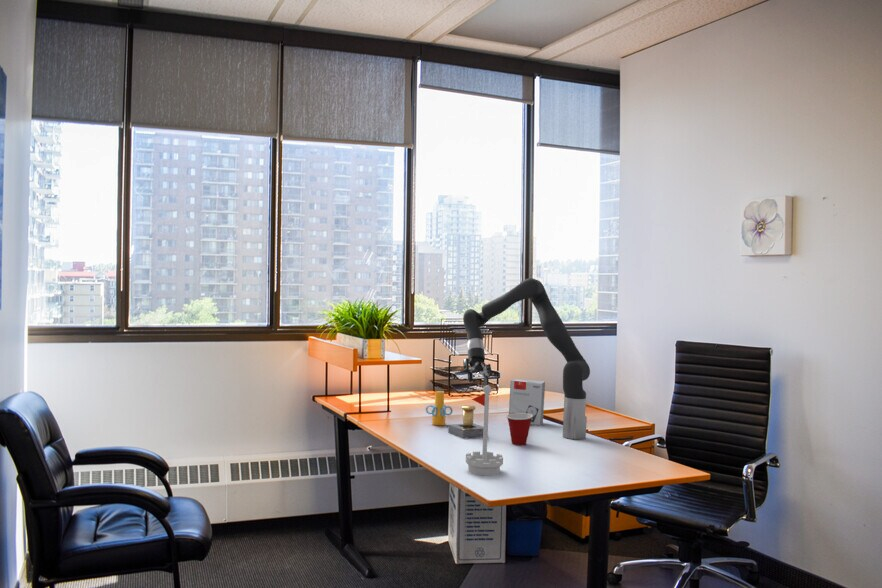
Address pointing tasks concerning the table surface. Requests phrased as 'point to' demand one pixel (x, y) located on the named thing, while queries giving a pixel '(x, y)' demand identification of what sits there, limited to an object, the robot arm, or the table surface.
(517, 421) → the plastic cup
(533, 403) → the hard drive box
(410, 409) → the table surface
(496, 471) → the flag stand
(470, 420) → the gold capped peg
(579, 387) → the robot arm
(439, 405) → the tube with loops
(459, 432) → the jig
